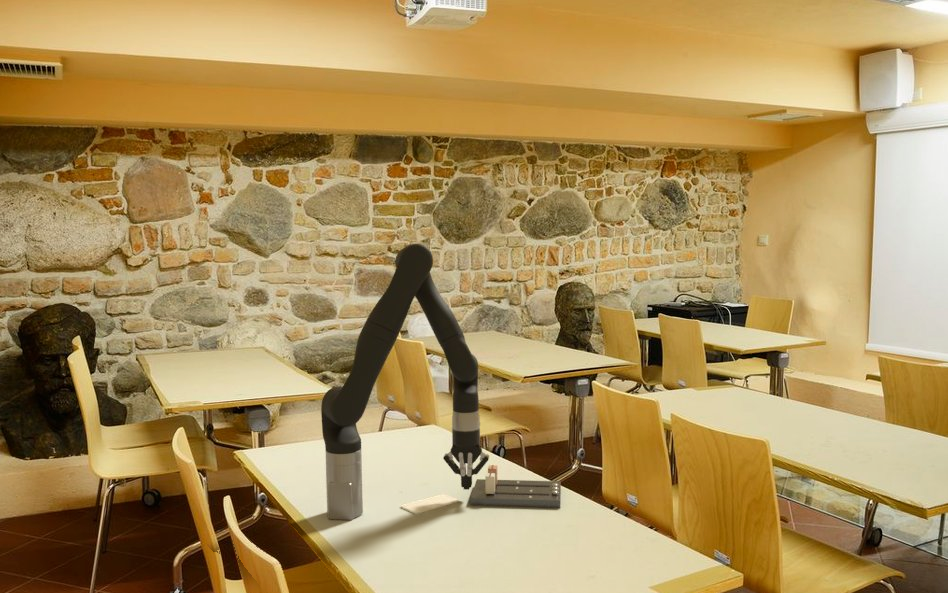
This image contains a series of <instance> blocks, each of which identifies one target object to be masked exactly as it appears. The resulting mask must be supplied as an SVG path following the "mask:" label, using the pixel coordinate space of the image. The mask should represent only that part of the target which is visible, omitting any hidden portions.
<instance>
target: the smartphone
mask: <svg viewBox="0 0 948 593" xmlns="http://www.w3.org/2000/svg"><path fill="white" fill-rule="evenodd" d="M459 502H460V500H459V499H457V498H455V497H452V496H450V495H448V494H443V493H442V494H438V495H435V496H431V497H427V498H424V499H420V500H415V501H412V502H408V503H404V504H401V505H400V508H401V509H403V510H405V511H407V512H410V513H411V514H414V515H418V514H422V513H426V512H428V511H432V510H437V509H439V508H443V507H445V506H448V505H452V504H456V503H459Z"/></svg>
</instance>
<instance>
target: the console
mask: <svg viewBox="0 0 948 593" xmlns="http://www.w3.org/2000/svg"><path fill="white" fill-rule="evenodd" d="M561 484H562V483H561V480H560V481H557V480H555V481H554V480H552V481H551V480H522V479H521V480H520V479H518V480H517V479H514V480H513V479H497V486H495V494H486V484H485V479H484V478H483V479H482V478H481V479H479V478H478V479H476V481H475V484H474V486H473V490H472V493H471V496H470V501H469V502H470V506H475V507H476V506H477V507H478V506H481V507H484V506H485V507H512V508H513V507H517V508H518V507H519V508H545V509H546V508H549V509H550V508H552V509H553V508H554V509H561V503H562V502H561V501H562V500H561V499H562V498H561V493H562V492H561V491H562V487H561V486H562V485H561Z"/></svg>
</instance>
